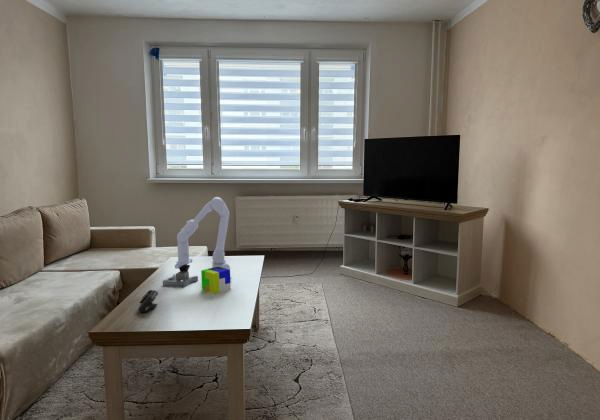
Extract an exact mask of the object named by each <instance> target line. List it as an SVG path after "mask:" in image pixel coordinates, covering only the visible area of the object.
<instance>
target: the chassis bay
mask: <svg viewBox="0 0 600 420" xmlns="http://www.w3.org/2000/svg"><path fill="white" fill-rule="evenodd" d="M175 274H176V273H175ZM175 274H172V276H170V277H167V278H165V279H163V280H162V286H164V287H175V288H176V287H177V288H185V287H187V286H188V285H191V284H192V283H194V282H198V281H199V276H198V275H194V276H189V278H188V279H186V280H184V281H183V280H181V281H176V275H175Z"/></svg>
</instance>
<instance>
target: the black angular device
mask: <svg viewBox="0 0 600 420" xmlns="http://www.w3.org/2000/svg"><path fill="white" fill-rule="evenodd" d="M158 294H159V293H158V291H157V290H154V289H153V290H151V289H149V290H148V291H147V292H146V293H145V294H144V295H143V296H142V297H141V299H140V301H139V306H138V309H137V310H138V311H139V312H140V313H141V314H143V313H146V312H148V311H149V310H151V309H155V308H156V307H157V305H158V304H157V303H153V302H154V301H155V299H156V298H157V296H158Z"/></svg>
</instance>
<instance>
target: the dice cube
mask: <svg viewBox="0 0 600 420" xmlns="http://www.w3.org/2000/svg"><path fill="white" fill-rule="evenodd" d="M175 277H176V281H181V280H183V281H184V280H186V279H188V278H190V272H189V271H188V272H184V271H180V270H179V271H178V272H176V273H175Z"/></svg>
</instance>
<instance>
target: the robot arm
mask: <svg viewBox="0 0 600 420" xmlns="http://www.w3.org/2000/svg"><path fill="white" fill-rule="evenodd" d="M213 210H214V211H215V212H217V214H218V215H219V217H220V218H219V219H220V220H219V226H218V230H217V231H218V232H217V239H216V244H215V249H214V251H213V253H212V263H211V264H212V266H211V268H213V267H222V268H225V269H229V270H230V271H231V267H230V265H229V263H227V261H226V260H225V255H226V252H225V244H226V239H227V233H228V227H229V226H228V225H229V220H230V213H231V212H230V211H229V208H228V207H227V204H226V203H225V201H224V200H223V199H222V198H221V197H219V196H215V197H213V198H212V199H211V200H210V201H209V202H207V203H206V204H205V205H204V206H203V207H202V209H201V210H200V211H199V213H197V215H196V216H195V217H194V219H189V220H187V221H186V224H185V225H184V226H183V228H180V231H179V232H178V233H177V235H176V241H177V261H176V263H175V264H174V269H179V272H180V271H184V272H189V269H190V267H191V266H190V263H193V259H192V258H190V251H189V250H190V249H189V247H190V246H189V238H190V237H191V236H192V235H193V234H194V233H195V231H196V230H197V229H199V223H200V222H201V221H202V220H203V218H205V217H206V215H207V214H208V213H210V212H213ZM231 279H232V277H231V276H230V280H231Z"/></svg>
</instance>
